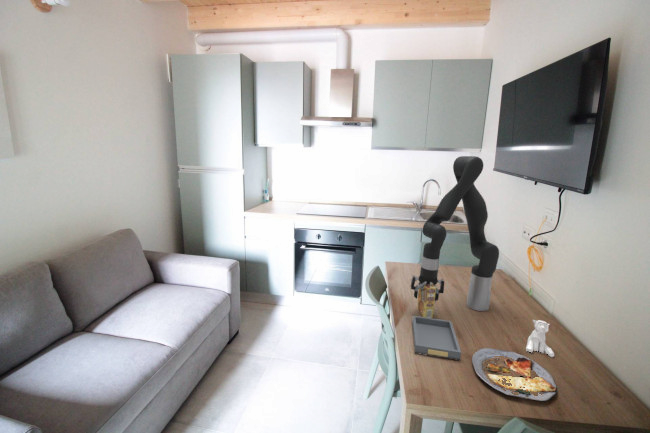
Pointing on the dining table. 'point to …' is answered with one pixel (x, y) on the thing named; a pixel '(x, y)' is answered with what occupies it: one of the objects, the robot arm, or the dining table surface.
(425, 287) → the candy box
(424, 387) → the dining table surface
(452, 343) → the labelled tray
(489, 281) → the robot arm
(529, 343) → the sitting furry creature
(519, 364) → the food plate
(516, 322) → the dining table surface
